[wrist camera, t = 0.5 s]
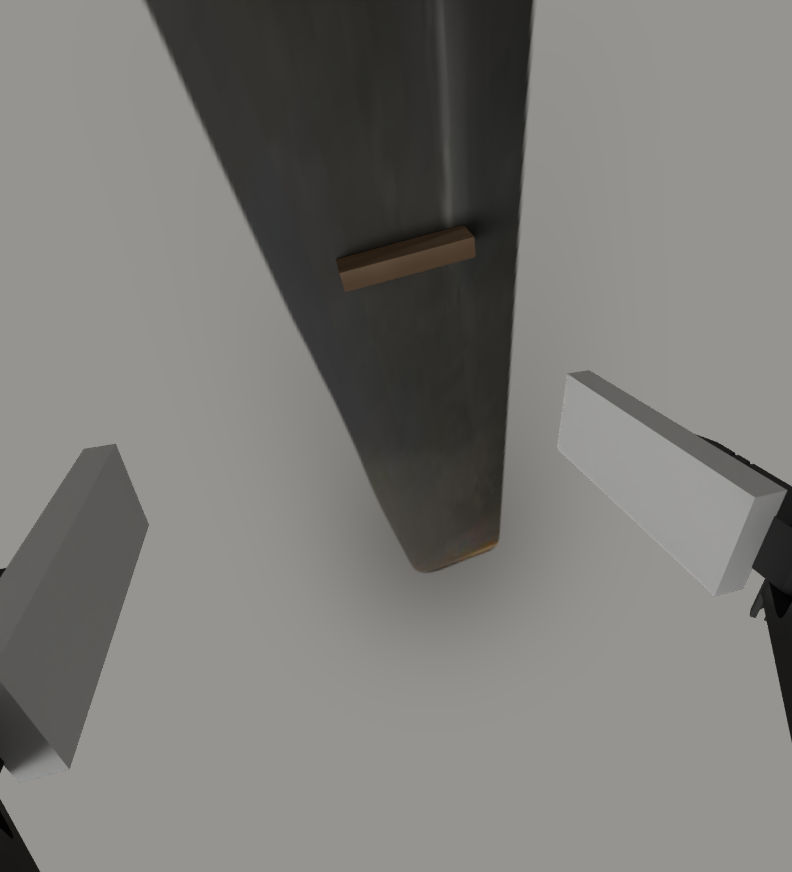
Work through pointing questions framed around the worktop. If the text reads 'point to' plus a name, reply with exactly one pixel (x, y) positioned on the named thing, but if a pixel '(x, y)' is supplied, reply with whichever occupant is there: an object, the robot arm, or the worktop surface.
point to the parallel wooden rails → (406, 258)
